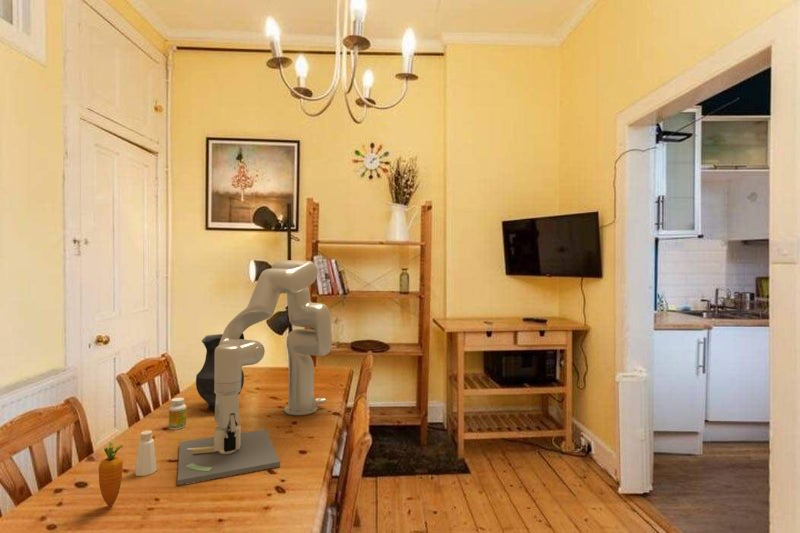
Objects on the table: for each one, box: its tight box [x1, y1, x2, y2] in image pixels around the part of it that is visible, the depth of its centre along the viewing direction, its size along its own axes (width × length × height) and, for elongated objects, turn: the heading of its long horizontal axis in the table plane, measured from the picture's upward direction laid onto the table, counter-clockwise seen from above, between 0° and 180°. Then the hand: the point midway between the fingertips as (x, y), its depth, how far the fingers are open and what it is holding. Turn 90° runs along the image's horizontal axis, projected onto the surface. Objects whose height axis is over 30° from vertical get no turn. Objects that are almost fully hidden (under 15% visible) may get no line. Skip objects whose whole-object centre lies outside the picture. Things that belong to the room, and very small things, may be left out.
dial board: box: [176, 429, 281, 486], centre depth 131 cm, size 26×26×2 cm
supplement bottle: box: [168, 397, 187, 431], centre depth 153 cm, size 5×5×10 cm
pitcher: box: [195, 332, 245, 413], centre depth 174 cm, size 17×21×30 cm
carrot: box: [98, 442, 124, 507], centre depth 104 cm, size 5×5×15 cm
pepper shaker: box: [134, 429, 158, 477], centre depth 121 cm, size 5×5×11 cm
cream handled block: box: [193, 424, 242, 454], centre depth 130 cm, size 13×5×7 cm, turn 104°
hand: (227, 446), depth 131 cm, fingers closed on cream handled block, 4 cm apart
